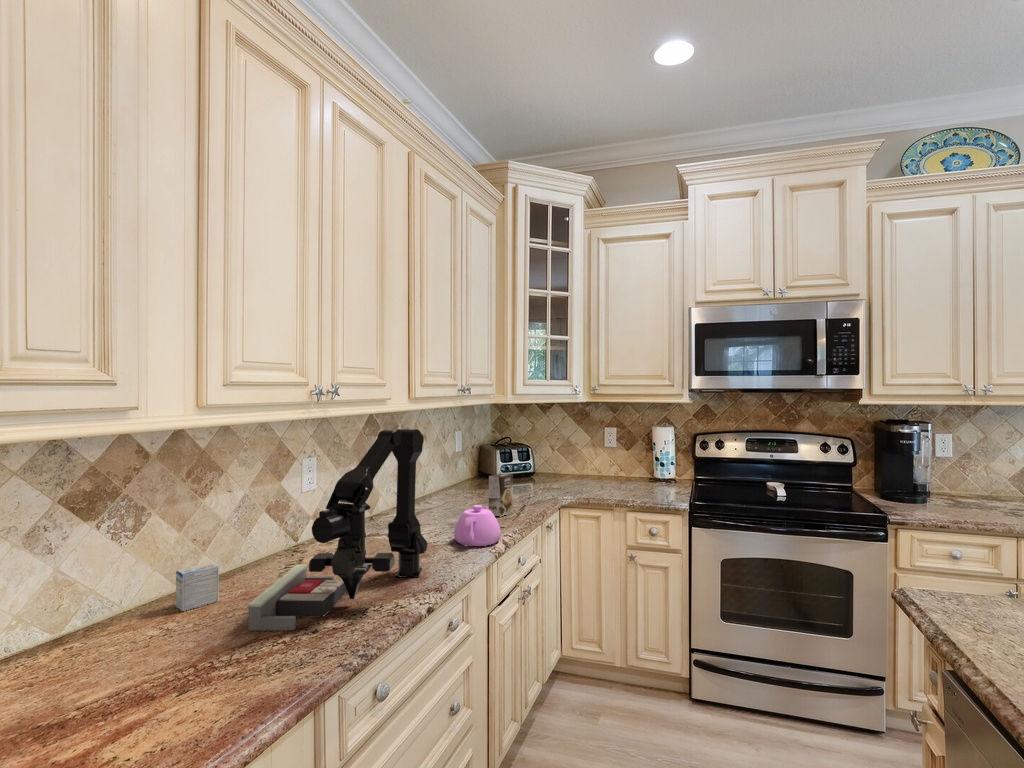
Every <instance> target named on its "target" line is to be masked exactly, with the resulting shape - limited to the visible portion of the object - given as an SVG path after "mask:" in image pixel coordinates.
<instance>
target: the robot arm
mask: <svg viewBox="0 0 1024 768" xmlns="http://www.w3.org/2000/svg"><path fill="white" fill-rule="evenodd" d="M424 441H425V439H424V434H423V433H422V432H421V431H420V429H418V428H417V429H416V428H414V429H412V428H396V429H395V430H393V429H383V430H380V431H379V432H378V434H377V438H376V439H375V440H374V442H373V443H372V445H371V446H370V448H369V449H368V451H367V452H366V453H365V455H364V456H363V458H361V460H360V461H359V463H358V464H357V466H356V467H354V468H353V469H351V470H350V471H347V472H346V473H344V474H343V475H342V476H341V478H339V479H338V481H336V484H335V486H334V489H333V490H332V493H331V495H330V498H329V500H328V502H327V504H326V506H325V510H320V511H319V512H318V517H316V518H315V519H314V521H313V523H312V526H311V534H312V537H313V538H314V540H315V541H316V542H318V543H320V544H326V543H329V542H331V541H334V540H338V541H337V547H336V550H335V552H334V553H332V552H318V553H317V554H316V555H314V556H313V557H312V558H310V560H309V562H308V572H310V573H322V572H323V571H324V570H325V569H326V567H331V568H332V569H331V570H332V573H333V575H334V576H338V577H339V578H340V580H343V582H344V584H345V587H346V590H347V595H348V597H349V600H355V599H356V596H357V592H358V590H359V588H360V583H361V581H362V579H363V577H364V575H366V574H367V572H369V570H370V569H371V568H372V570H374V572H378V573H380V572H381V573H385V572H390V571H391V570H392V568H393V567H394V566H395V562H396V561H395V555H394V553H398V556H397V558H398V565H397V566H398V570H397V571H396V573H395V575H394V577H395V576H419V575H420V576H421V574H422V572H423V570H422V569H423V568H422V567H420V562H421V560H420V558H421V557H420V555H422V554H425V553H426V552H427V549H428V541H427V540H426V539H425V537H424V536H423V534H422V531H421V530H422V529H421V523H420V522H419V520H418V518H417V516H416V510H415V509H416V481H417V479H416V476H417V475H416V474H417V473H416V472H417V461H418V459H419V457H420V456H421V454H422V452H423V445H424ZM391 453H392V454H393V456H394V458H395V460H396V462H397V469H396V471H397V473H396V474H397V476H396V504H395V505H396V512H395V513H396V514H395V516H394V518H393V519H392V521H390V522H388V524H387V528H388V529H387V539H388V543H389V547H390V552H377V553H376V554H375V556H373V557H370V556H369V557H366V555H367V550H366V537H367V533H366V511H368V510H371V506H370V505H369V504H368V503H367V501H368V500H369V498H370V495H371V493H372V491H373V488H374V479H375V477H376V476H377V474H378V472H379V471H380V470H381V468H382V466H383V465H384V463H385V462H386V461H387V459H388V458H389V456H390V454H391ZM393 552H394V553H393ZM421 571H422V572H421ZM420 573H421V574H420ZM420 576H419V577H420Z"/></svg>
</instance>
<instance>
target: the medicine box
mask: <svg viewBox="0 0 1024 768" xmlns="http://www.w3.org/2000/svg"><path fill="white" fill-rule="evenodd" d="M219 570H220V567H219V566H218V565H216V564H214V563H212V562H208V563H204V564H199V565H196V566H195V565H194V566H191V567H187V568H182V569H179V570H176V572H175V607H176V608H177V609H178V608H179V609H180V611H181V612H182V611H184V612H187V611H190V609H191V610H193V608H194V609H197V607H198V608H201V607H203V606H207V604H208V605H211V604H215V603H217V602H219V599H220V597H219V596H220V595H219V586H220V585H219V582H220V581H219V579H220V578H219V577H220V575H219V573H220V571H219ZM179 609H178V610H179ZM186 610H187V611H186Z"/></svg>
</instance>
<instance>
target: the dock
mask: <svg viewBox="0 0 1024 768" xmlns="http://www.w3.org/2000/svg"><path fill="white" fill-rule="evenodd" d="M307 571H308V565H307V564H296V565H294V567H292V568H291V569H289V570H288V571H287V572H286V573H284V574H283V575H282V576H281V577H280V578H279V579H277V580H276V581H275V582H274V583H272V584H271V585H269V587H268V588H267V589H265V590H264V591H262V593H260V594H259V595H258V596H256V597H255V598H254V599H253V600H251V601H250V602H249V603H248V604H247V606H248V623H247V624H248V631H295V630H296V628H297V617H296V616H277V601H278V600H279V599H280V598H281V597H283V596H284V595H286V594H287V593H288V592H289V591H290V590H292V589H293V588H294V587H296V586H297V585H299V584H300V583H301V582H303V581H304V580H324V581H325V580H335V577H334V576H335V575H334V576H333V575H332V576H331V575H329V576H328V575H323V576H322V575H317V576H316V575H315V576H309V575H308V574H307ZM307 575H308V576H307Z"/></svg>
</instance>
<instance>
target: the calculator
mask: <svg viewBox="0 0 1024 768" xmlns="http://www.w3.org/2000/svg"><path fill="white" fill-rule="evenodd" d="M346 592H347V590H346V587H345V584H344V582H343V580H342V579H334V580H325V581H324V580H304V581H303V582H301V583H300V584H299V585H297V586H296V587H294V588H293V589H292V590H290V591H289V592H288V593H287V594H286V595H284V596H283V597H281V598H280V599H279V600H278V601H277V615H276V616H323V615H325V614H326V613H327V612H328V611H329V610H330V609H331V610H332V609H333V607H334V606H335V605H336V604H337V603H338V602H339V601H340V600H341V599H342V598H343V597H344V596H345V595H346V594H347V593H348V592H347V593H346ZM345 593H346V594H345ZM344 594H345V595H344ZM343 595H344V596H343ZM342 596H343V597H342ZM341 597H342V598H341ZM340 598H341V599H340ZM339 599H340V600H339ZM338 600H339V601H338ZM336 602H337V603H336ZM331 610H330V611H331ZM330 611H329V612H330ZM329 612H328V613H329ZM328 613H327V614H328ZM327 614H326V615H327ZM326 615H325V616H326Z"/></svg>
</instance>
